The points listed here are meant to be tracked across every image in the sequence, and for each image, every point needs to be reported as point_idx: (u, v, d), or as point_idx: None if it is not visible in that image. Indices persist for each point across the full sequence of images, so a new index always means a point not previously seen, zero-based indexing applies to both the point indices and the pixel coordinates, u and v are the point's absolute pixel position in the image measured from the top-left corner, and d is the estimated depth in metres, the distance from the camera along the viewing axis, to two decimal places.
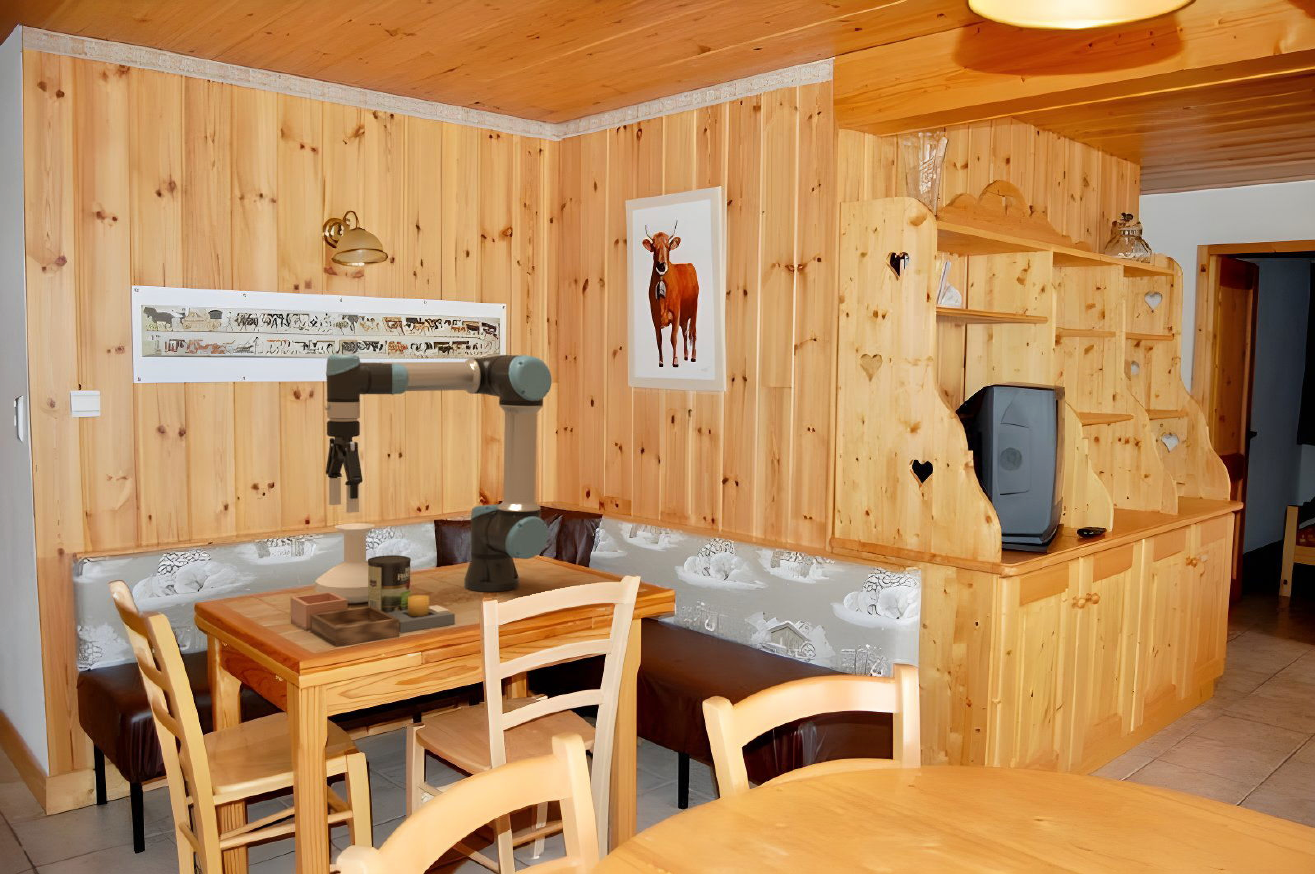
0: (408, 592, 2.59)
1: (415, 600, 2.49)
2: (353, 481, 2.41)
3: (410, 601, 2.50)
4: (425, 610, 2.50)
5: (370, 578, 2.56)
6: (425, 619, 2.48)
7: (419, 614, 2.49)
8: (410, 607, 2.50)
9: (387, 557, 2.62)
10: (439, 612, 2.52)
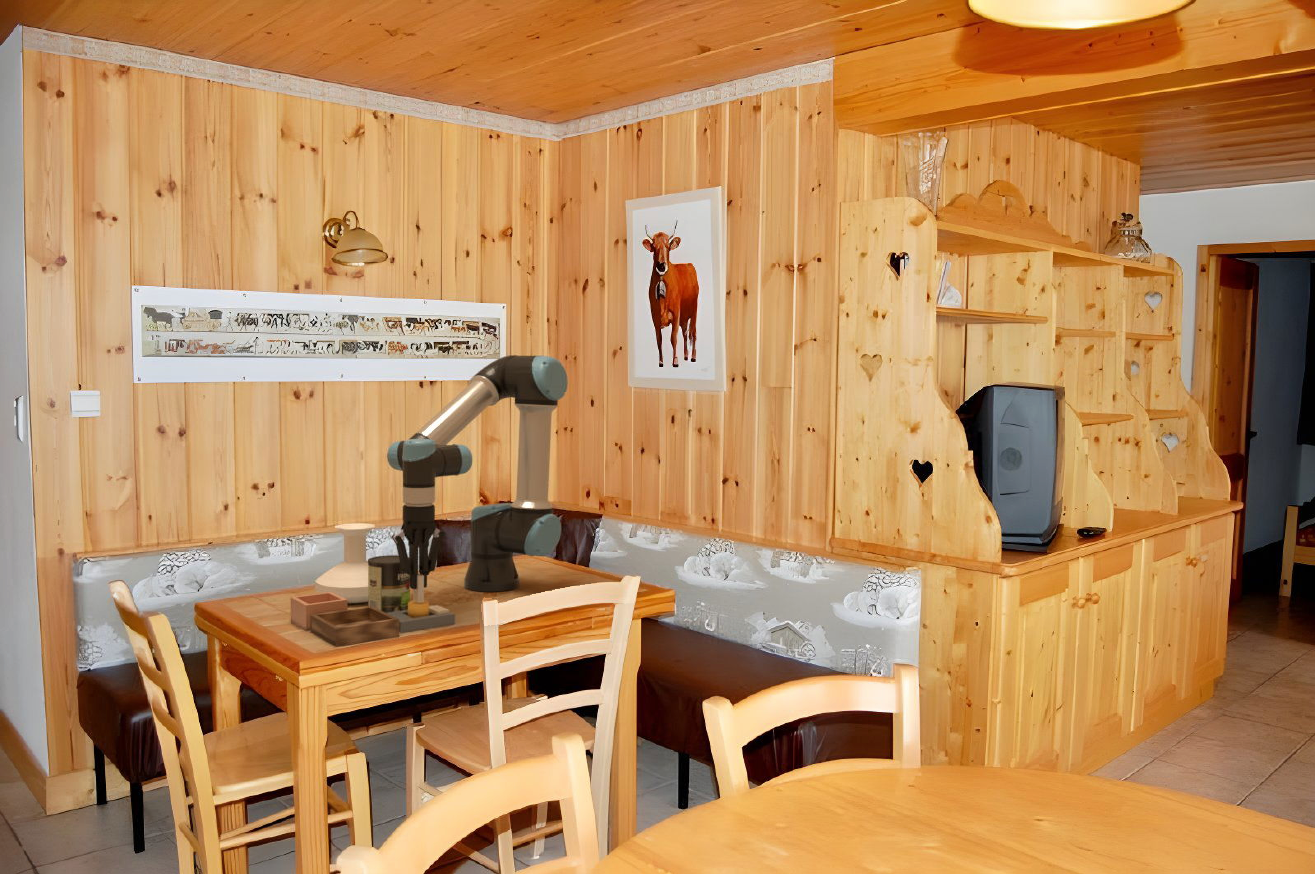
0: (408, 592, 2.59)
1: (415, 605, 2.49)
2: (402, 571, 2.49)
3: (410, 606, 2.50)
4: (425, 615, 2.50)
5: (370, 578, 2.56)
6: (425, 619, 2.48)
7: None
8: (410, 612, 2.50)
9: (387, 557, 2.62)
10: (439, 612, 2.52)
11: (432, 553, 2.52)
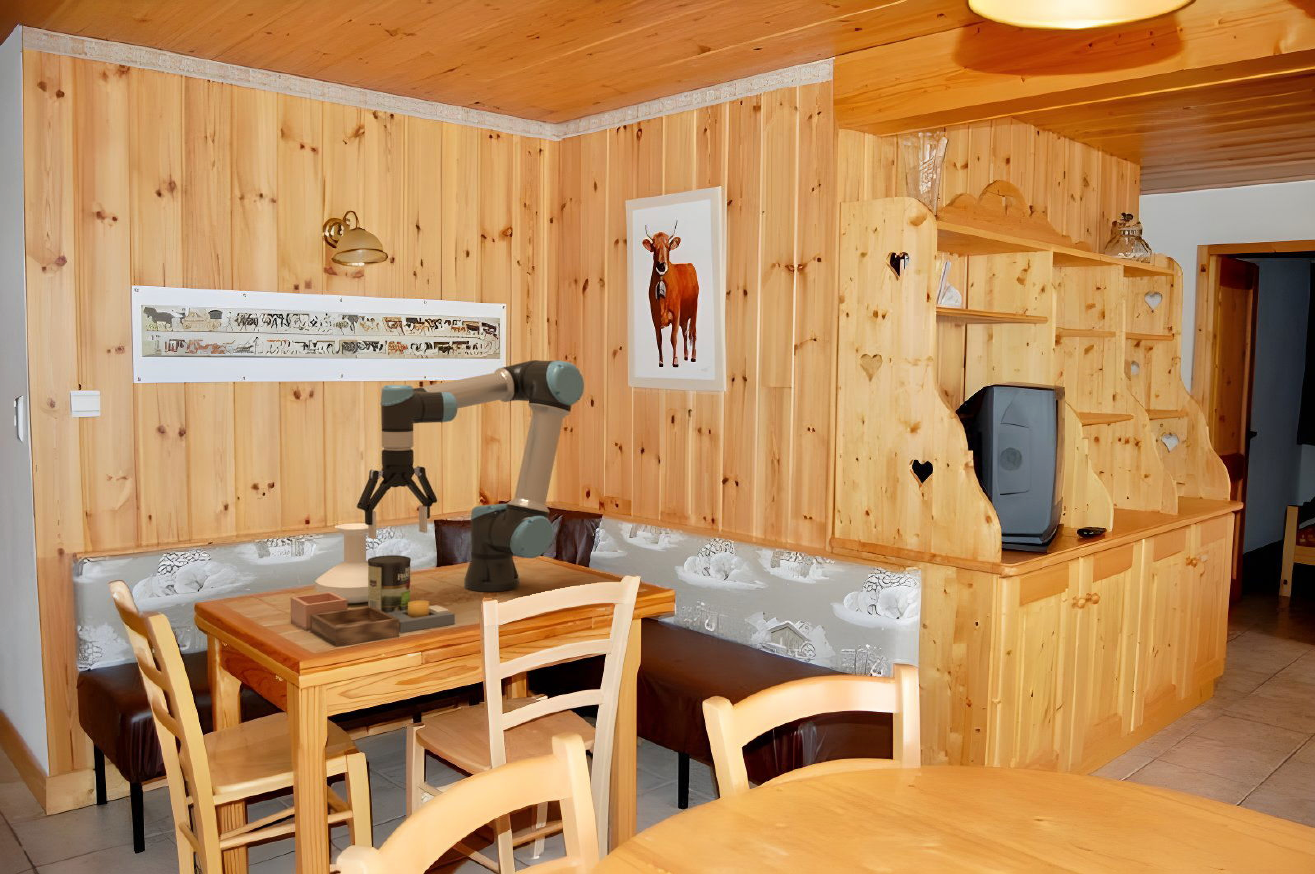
0: (408, 592, 2.59)
1: (415, 605, 2.49)
2: (357, 507, 2.50)
3: (410, 606, 2.50)
4: (425, 615, 2.50)
5: (370, 578, 2.56)
6: (425, 619, 2.48)
7: None
8: (410, 613, 2.50)
9: (387, 557, 2.62)
10: (439, 612, 2.52)
11: (426, 488, 2.60)
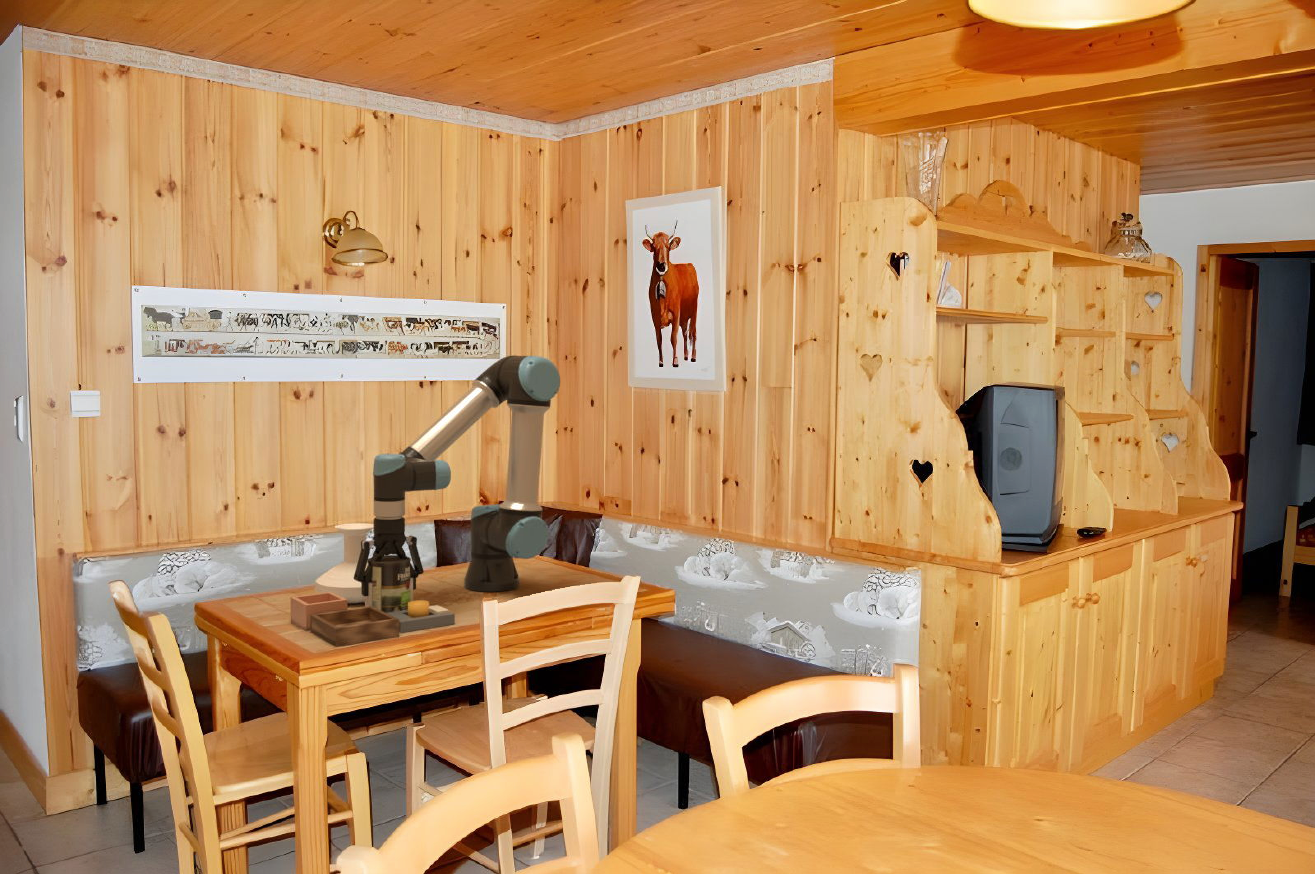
0: (408, 592, 2.59)
1: (415, 605, 2.49)
2: (354, 578, 2.54)
3: (410, 606, 2.50)
4: (425, 615, 2.50)
5: None
6: (425, 619, 2.48)
7: None
8: (410, 613, 2.50)
9: (387, 557, 2.62)
10: (439, 612, 2.52)
11: (414, 558, 2.63)
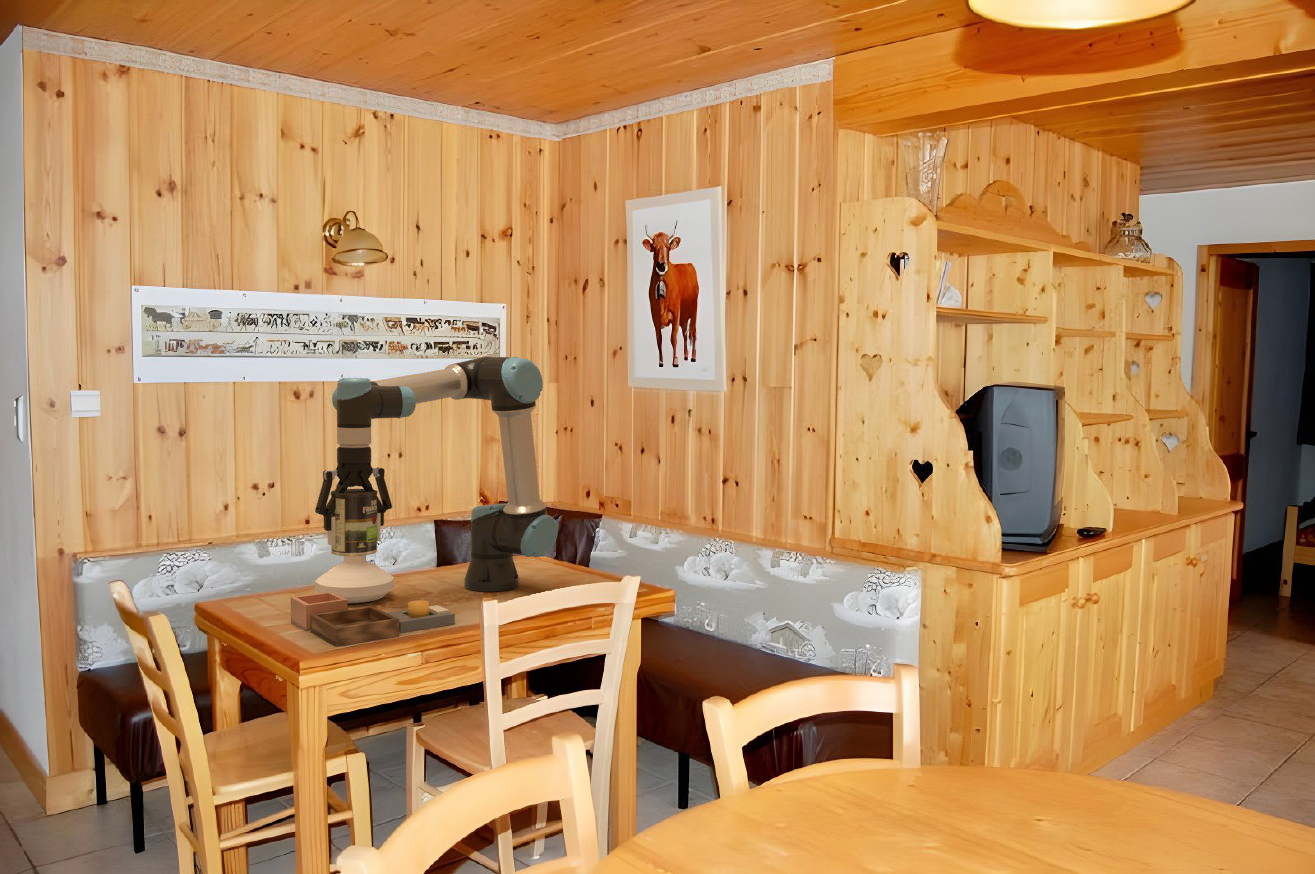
0: (374, 527, 2.39)
1: (415, 605, 2.49)
2: (315, 511, 2.35)
3: (410, 606, 2.50)
4: (425, 615, 2.50)
5: None
6: (425, 619, 2.48)
7: None
8: (410, 613, 2.50)
9: (352, 490, 2.42)
10: (439, 612, 2.52)
11: (382, 492, 2.43)
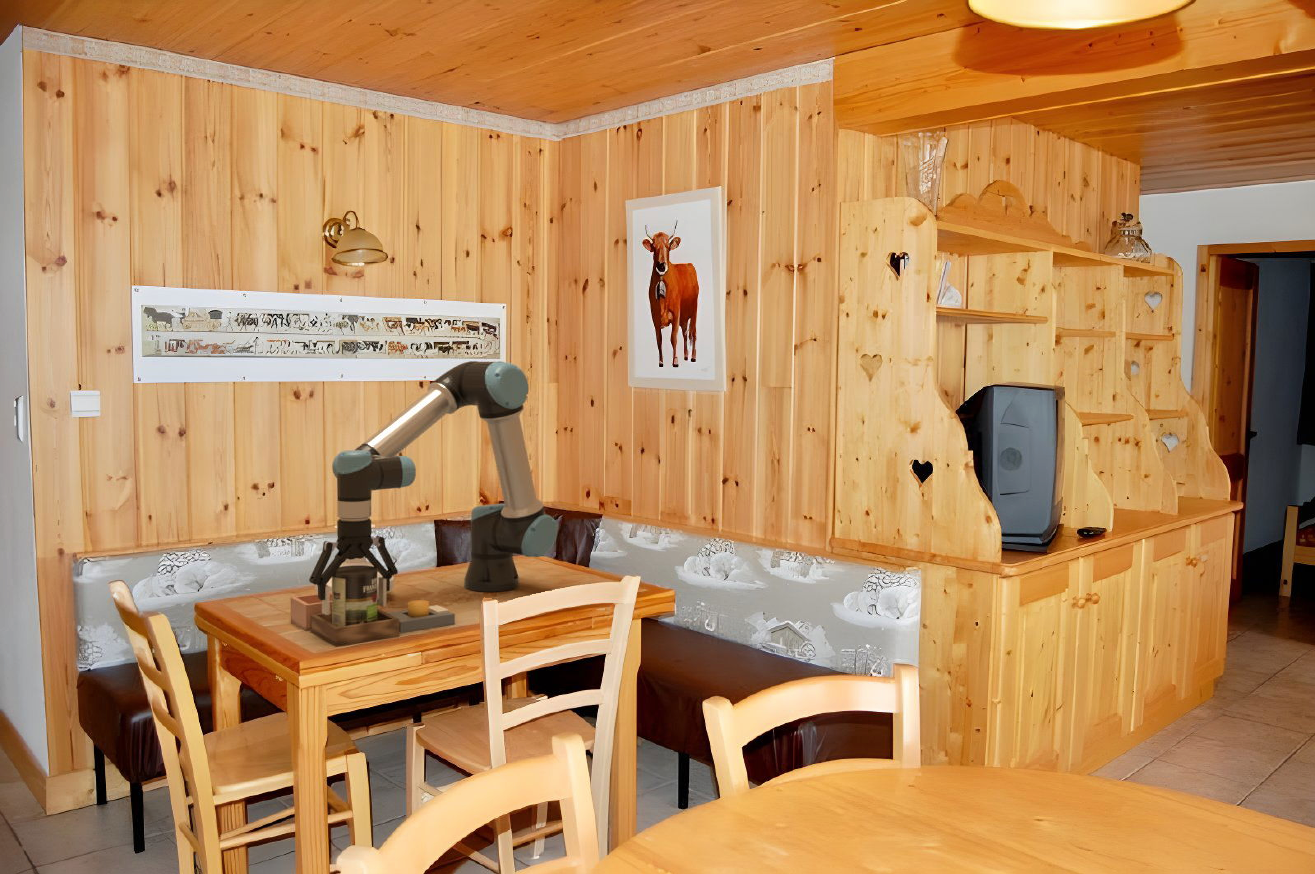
0: (375, 605, 2.41)
1: (415, 605, 2.49)
2: (310, 581, 2.35)
3: (410, 606, 2.50)
4: (425, 615, 2.50)
5: (333, 590, 2.38)
6: (425, 619, 2.48)
7: None
8: (410, 613, 2.50)
9: (353, 567, 2.44)
10: (439, 612, 2.52)
11: (385, 560, 2.45)
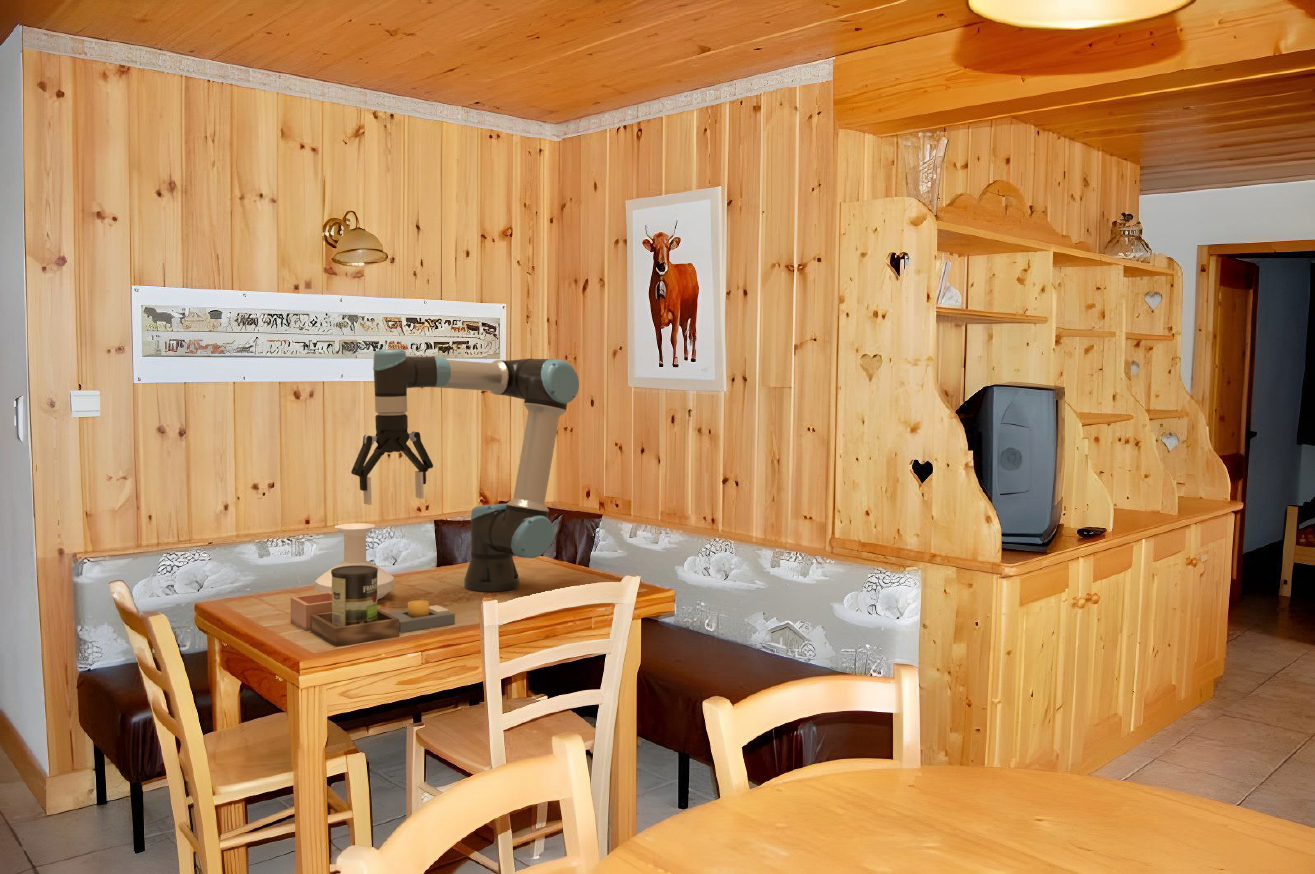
0: (375, 605, 2.41)
1: (415, 605, 2.49)
2: (352, 473, 2.48)
3: (410, 606, 2.50)
4: (425, 615, 2.50)
5: (333, 590, 2.38)
6: (425, 619, 2.48)
7: None
8: (410, 613, 2.50)
9: (353, 567, 2.44)
10: (439, 612, 2.52)
11: (421, 454, 2.58)
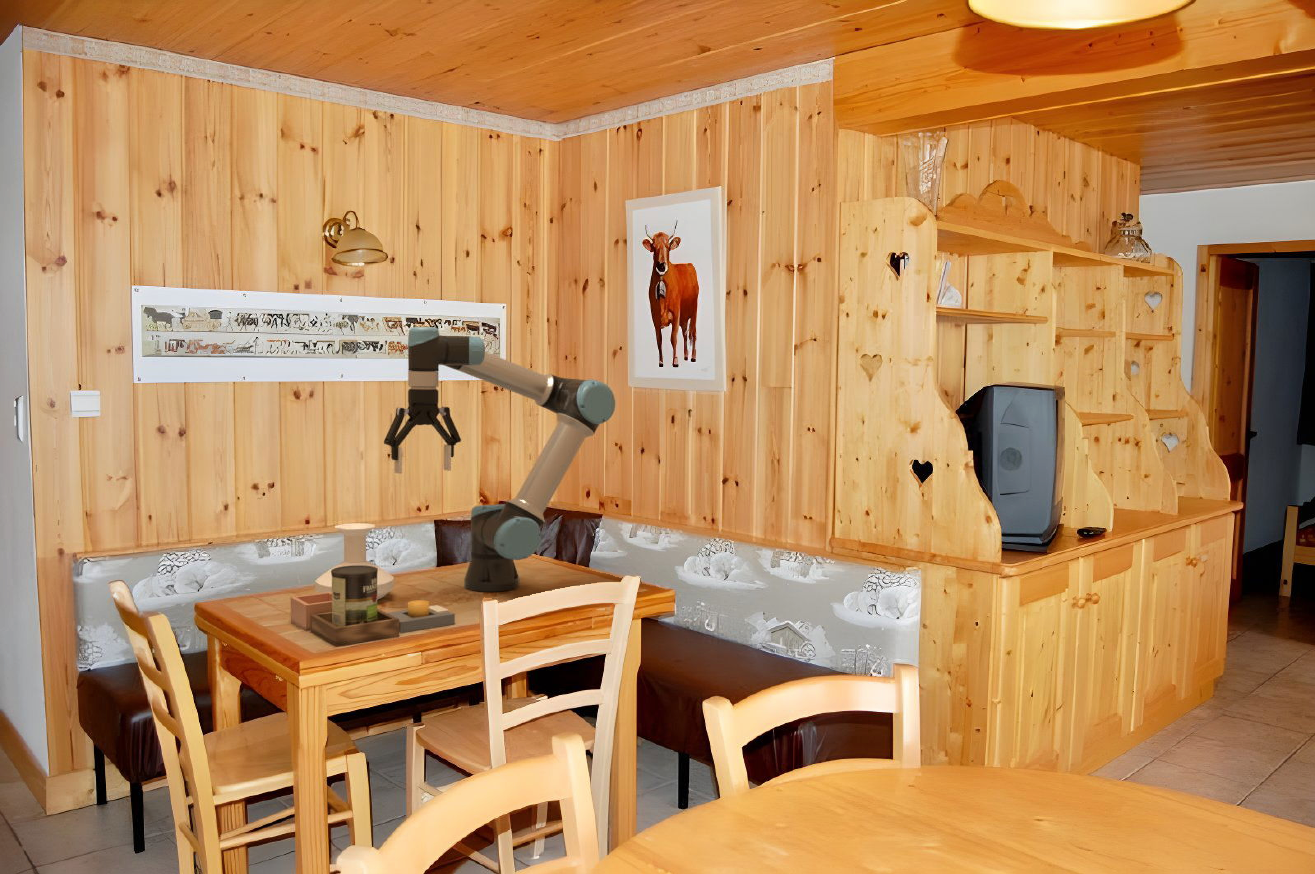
0: (375, 605, 2.41)
1: (415, 605, 2.49)
2: (384, 442, 2.61)
3: (410, 606, 2.50)
4: (425, 615, 2.50)
5: (333, 590, 2.38)
6: (425, 619, 2.48)
7: None
8: (410, 613, 2.50)
9: (353, 567, 2.44)
10: (439, 612, 2.52)
11: (450, 428, 2.71)
